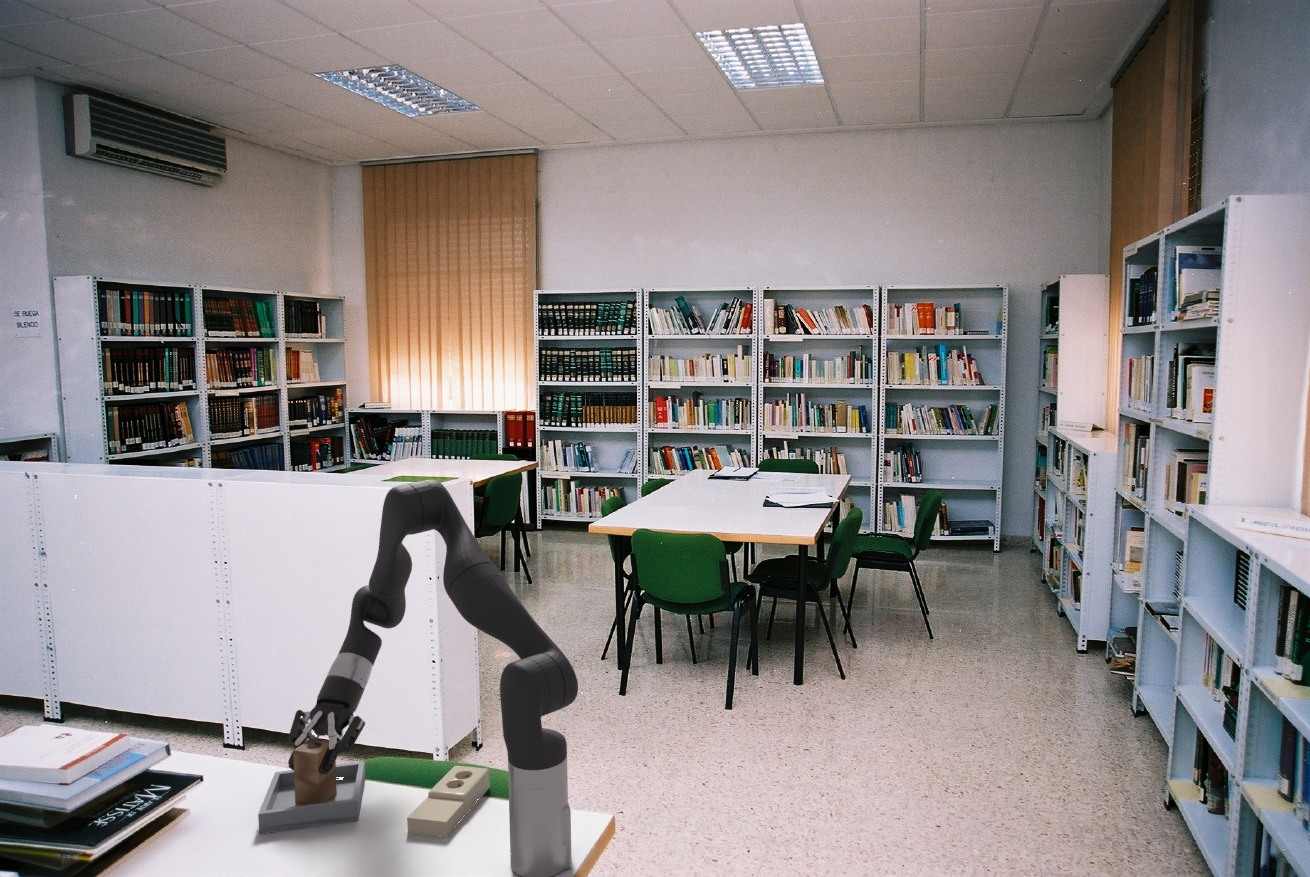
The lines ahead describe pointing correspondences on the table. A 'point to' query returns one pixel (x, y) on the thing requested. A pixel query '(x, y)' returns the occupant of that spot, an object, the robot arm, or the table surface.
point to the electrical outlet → (449, 801)
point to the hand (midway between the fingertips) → (307, 770)
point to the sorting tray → (288, 815)
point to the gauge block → (312, 774)
